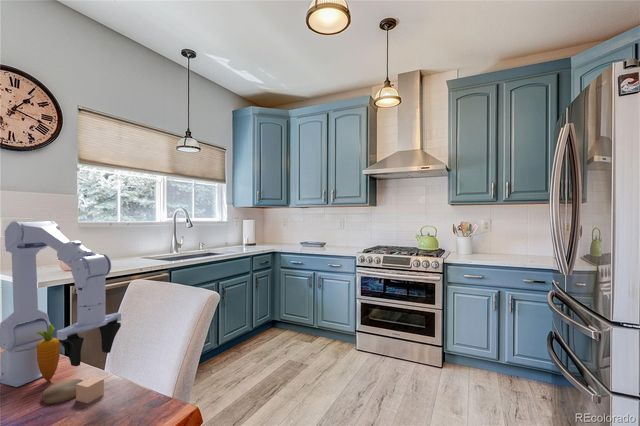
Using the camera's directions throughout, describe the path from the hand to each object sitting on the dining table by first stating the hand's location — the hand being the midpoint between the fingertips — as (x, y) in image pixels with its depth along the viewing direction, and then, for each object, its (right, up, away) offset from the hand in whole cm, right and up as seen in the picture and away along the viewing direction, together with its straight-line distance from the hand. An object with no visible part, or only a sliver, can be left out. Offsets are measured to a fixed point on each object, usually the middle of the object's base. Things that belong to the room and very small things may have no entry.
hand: (91, 358), depth 79 cm
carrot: (-17, -10, +8) cm, 22 cm away
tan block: (0, -10, 0) cm, 10 cm away
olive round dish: (-8, -10, +1) cm, 13 cm away
